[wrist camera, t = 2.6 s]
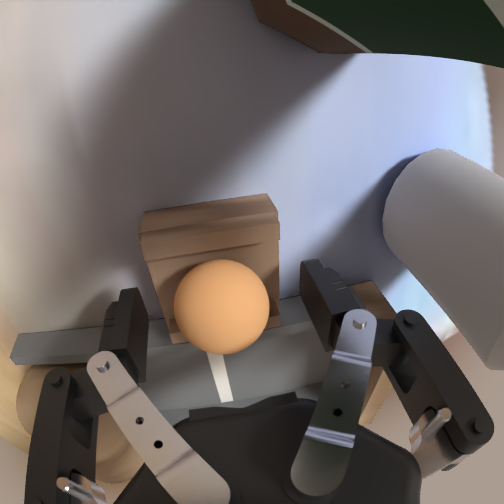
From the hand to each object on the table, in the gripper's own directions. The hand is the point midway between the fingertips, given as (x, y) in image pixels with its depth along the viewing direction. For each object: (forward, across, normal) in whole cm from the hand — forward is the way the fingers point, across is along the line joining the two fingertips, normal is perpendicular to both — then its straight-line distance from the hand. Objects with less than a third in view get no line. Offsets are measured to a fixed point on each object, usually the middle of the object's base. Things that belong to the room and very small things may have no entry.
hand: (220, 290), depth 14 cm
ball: (-1, 0, 0) cm, 1 cm away
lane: (+3, +3, +10) cm, 11 cm away
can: (+3, -13, -2) cm, 13 cm away
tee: (+3, 0, 0) cm, 3 cm away
